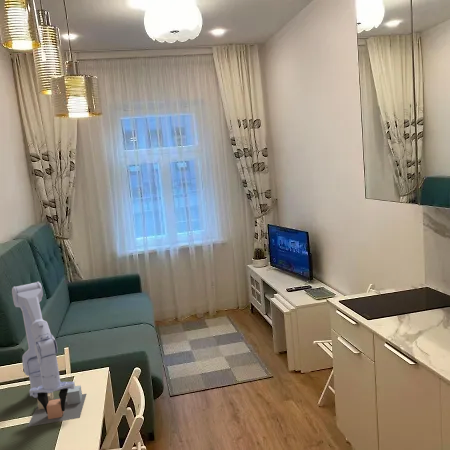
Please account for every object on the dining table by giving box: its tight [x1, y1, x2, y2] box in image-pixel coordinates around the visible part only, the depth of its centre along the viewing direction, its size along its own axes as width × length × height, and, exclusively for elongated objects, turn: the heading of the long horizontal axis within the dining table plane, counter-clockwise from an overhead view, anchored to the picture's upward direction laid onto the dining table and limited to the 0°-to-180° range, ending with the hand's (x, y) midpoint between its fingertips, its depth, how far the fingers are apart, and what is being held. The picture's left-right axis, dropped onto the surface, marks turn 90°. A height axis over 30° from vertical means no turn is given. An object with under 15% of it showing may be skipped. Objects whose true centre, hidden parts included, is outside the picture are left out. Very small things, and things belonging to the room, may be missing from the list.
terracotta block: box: [47, 398, 64, 419], centre depth 165 cm, size 4×4×4 cm
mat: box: [26, 393, 87, 428], centre depth 169 cm, size 18×17×1 cm
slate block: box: [66, 384, 83, 405], centre depth 174 cm, size 4×4×4 cm
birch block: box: [36, 392, 55, 410], centre depth 173 cm, size 4×4×4 cm
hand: (55, 411), depth 165 cm, fingers closed on terracotta block, 4 cm apart
